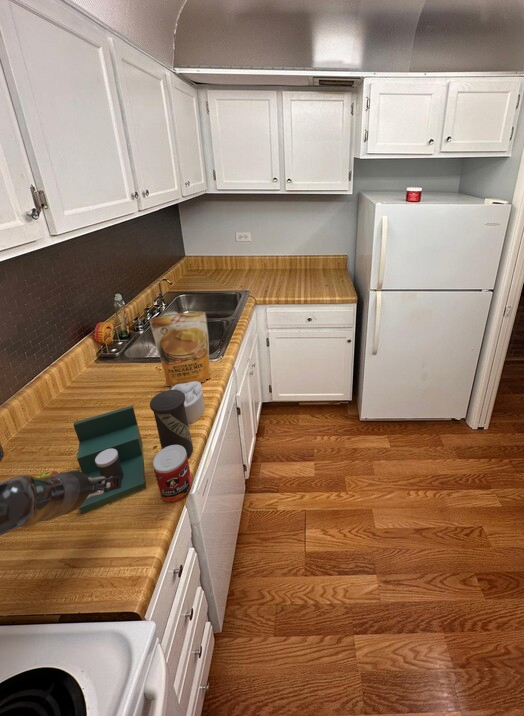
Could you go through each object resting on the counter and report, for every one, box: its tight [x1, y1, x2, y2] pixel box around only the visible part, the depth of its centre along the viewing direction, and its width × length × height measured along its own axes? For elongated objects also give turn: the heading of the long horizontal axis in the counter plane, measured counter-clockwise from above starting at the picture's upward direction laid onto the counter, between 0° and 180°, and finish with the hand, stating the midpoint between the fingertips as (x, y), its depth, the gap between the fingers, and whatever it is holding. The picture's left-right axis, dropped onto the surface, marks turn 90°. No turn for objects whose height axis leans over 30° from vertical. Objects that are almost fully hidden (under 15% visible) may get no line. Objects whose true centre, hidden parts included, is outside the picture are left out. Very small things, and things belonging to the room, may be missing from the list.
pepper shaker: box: [95, 449, 123, 479], centre depth 84 cm, size 5×5×8 cm
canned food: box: [152, 445, 193, 503], centre depth 83 cm, size 8×8×11 cm
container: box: [149, 389, 194, 459], centre depth 92 cm, size 9×9×20 cm
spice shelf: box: [73, 404, 147, 514], centre depth 87 cm, size 14×17×14 cm
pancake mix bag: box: [148, 310, 212, 388], centre depth 122 cm, size 7×19×28 cm, turn 107°
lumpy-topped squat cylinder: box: [170, 381, 206, 426], centre depth 110 cm, size 10×13×9 cm
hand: (96, 484), depth 77 cm, fingers open, 8 cm apart
